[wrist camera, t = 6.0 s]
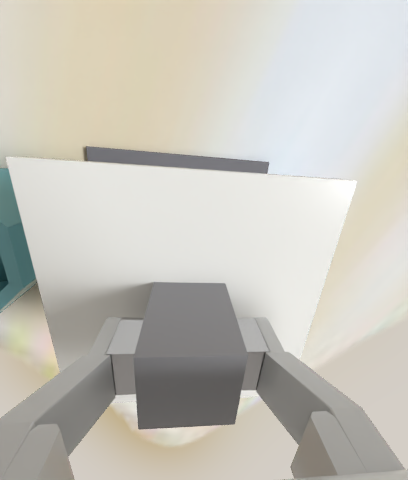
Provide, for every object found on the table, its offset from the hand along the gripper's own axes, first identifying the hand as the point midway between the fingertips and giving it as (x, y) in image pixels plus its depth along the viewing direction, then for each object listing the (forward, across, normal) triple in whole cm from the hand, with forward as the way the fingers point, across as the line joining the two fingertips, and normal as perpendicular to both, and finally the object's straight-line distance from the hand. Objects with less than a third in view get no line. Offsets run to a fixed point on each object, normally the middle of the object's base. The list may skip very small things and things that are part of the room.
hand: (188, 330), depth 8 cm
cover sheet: (+2, 0, 0) cm, 2 cm away
